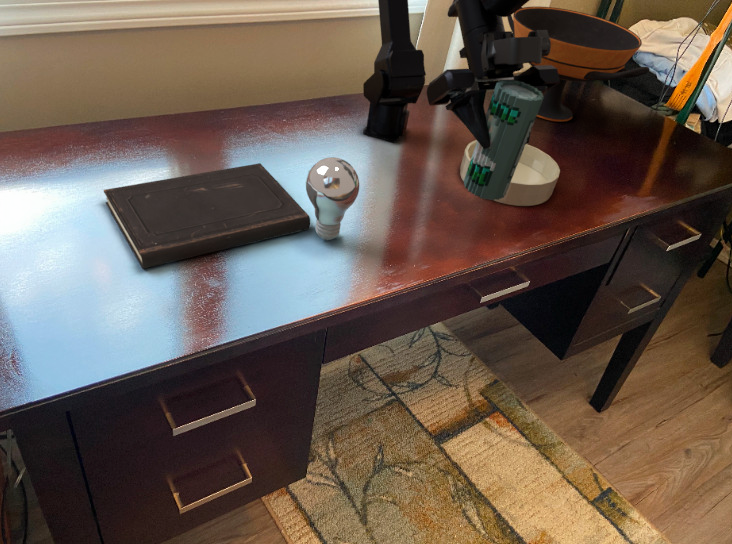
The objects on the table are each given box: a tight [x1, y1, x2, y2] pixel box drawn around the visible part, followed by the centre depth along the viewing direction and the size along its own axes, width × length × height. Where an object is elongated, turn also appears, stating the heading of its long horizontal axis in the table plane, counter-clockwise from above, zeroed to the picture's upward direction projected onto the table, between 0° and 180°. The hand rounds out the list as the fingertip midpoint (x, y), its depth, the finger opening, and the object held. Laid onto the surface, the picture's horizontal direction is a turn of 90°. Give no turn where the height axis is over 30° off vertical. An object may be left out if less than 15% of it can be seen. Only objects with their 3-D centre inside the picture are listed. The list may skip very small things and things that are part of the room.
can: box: [463, 79, 544, 201], centre depth 84 cm, size 6×6×15 cm
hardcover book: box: [103, 162, 311, 269], centre depth 83 cm, size 16×23×2 cm
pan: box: [459, 139, 561, 207], centre depth 103 cm, size 16×16×4 cm
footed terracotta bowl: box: [506, 6, 651, 122], centre depth 126 cm, size 36×26×18 cm
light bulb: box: [305, 156, 360, 241], centre depth 80 cm, size 7×7×12 cm
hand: (506, 146), depth 83 cm, fingers closed on can, 6 cm apart
